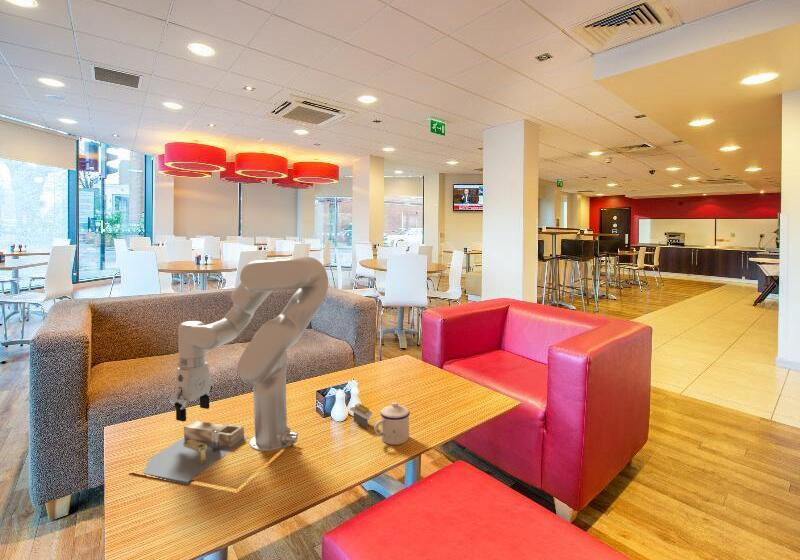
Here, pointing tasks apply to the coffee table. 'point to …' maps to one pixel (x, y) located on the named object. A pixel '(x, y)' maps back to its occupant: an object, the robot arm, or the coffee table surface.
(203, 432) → the link
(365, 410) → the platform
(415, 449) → the coffee table surface
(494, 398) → the coffee table surface
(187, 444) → the keeper
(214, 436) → the pintle
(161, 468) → the board
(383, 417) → the teacup with lid
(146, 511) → the coffee table surface
